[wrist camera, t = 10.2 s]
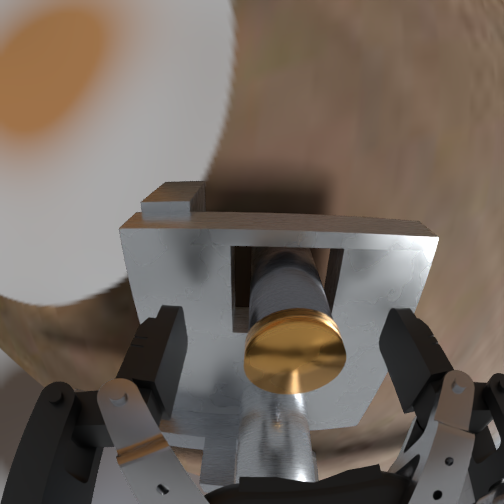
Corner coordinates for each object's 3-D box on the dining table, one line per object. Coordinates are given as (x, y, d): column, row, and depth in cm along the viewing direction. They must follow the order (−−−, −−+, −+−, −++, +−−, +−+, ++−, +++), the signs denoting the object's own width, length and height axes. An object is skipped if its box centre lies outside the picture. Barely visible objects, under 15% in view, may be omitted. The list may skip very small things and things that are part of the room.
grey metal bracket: (390, 190, 16) (560, 345, 4) (343, 371, 23) (373, 512, 11) (59, 189, 16) (-96, 303, 4) (110, 359, 24) (59, 482, 11)
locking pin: (308, 212, 17) (357, 327, 8) (303, 262, 18) (334, 392, 10) (251, 211, 17) (243, 328, 8) (250, 261, 18) (244, 394, 10)
